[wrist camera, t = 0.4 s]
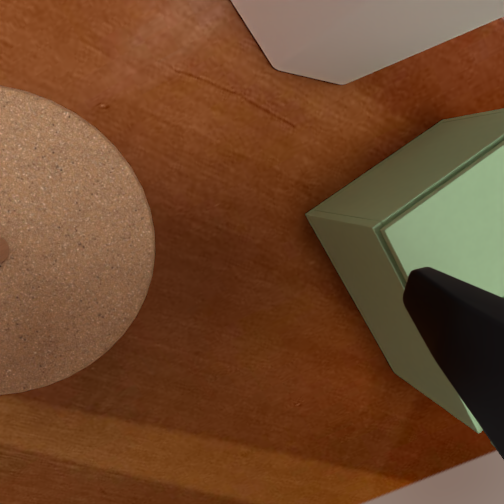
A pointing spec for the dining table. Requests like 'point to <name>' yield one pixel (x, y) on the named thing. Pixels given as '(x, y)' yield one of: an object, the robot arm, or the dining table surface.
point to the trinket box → (65, 243)
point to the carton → (421, 236)
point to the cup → (356, 32)
